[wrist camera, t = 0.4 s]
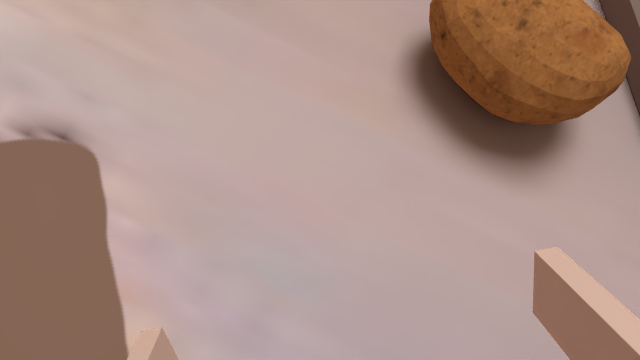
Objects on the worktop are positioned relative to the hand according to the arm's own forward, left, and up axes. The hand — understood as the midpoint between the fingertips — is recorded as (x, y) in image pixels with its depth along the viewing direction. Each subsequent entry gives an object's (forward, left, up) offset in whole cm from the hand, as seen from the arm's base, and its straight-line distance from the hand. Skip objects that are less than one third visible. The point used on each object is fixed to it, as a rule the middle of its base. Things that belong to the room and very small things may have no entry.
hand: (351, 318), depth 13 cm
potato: (+14, -16, -16) cm, 27 cm away
